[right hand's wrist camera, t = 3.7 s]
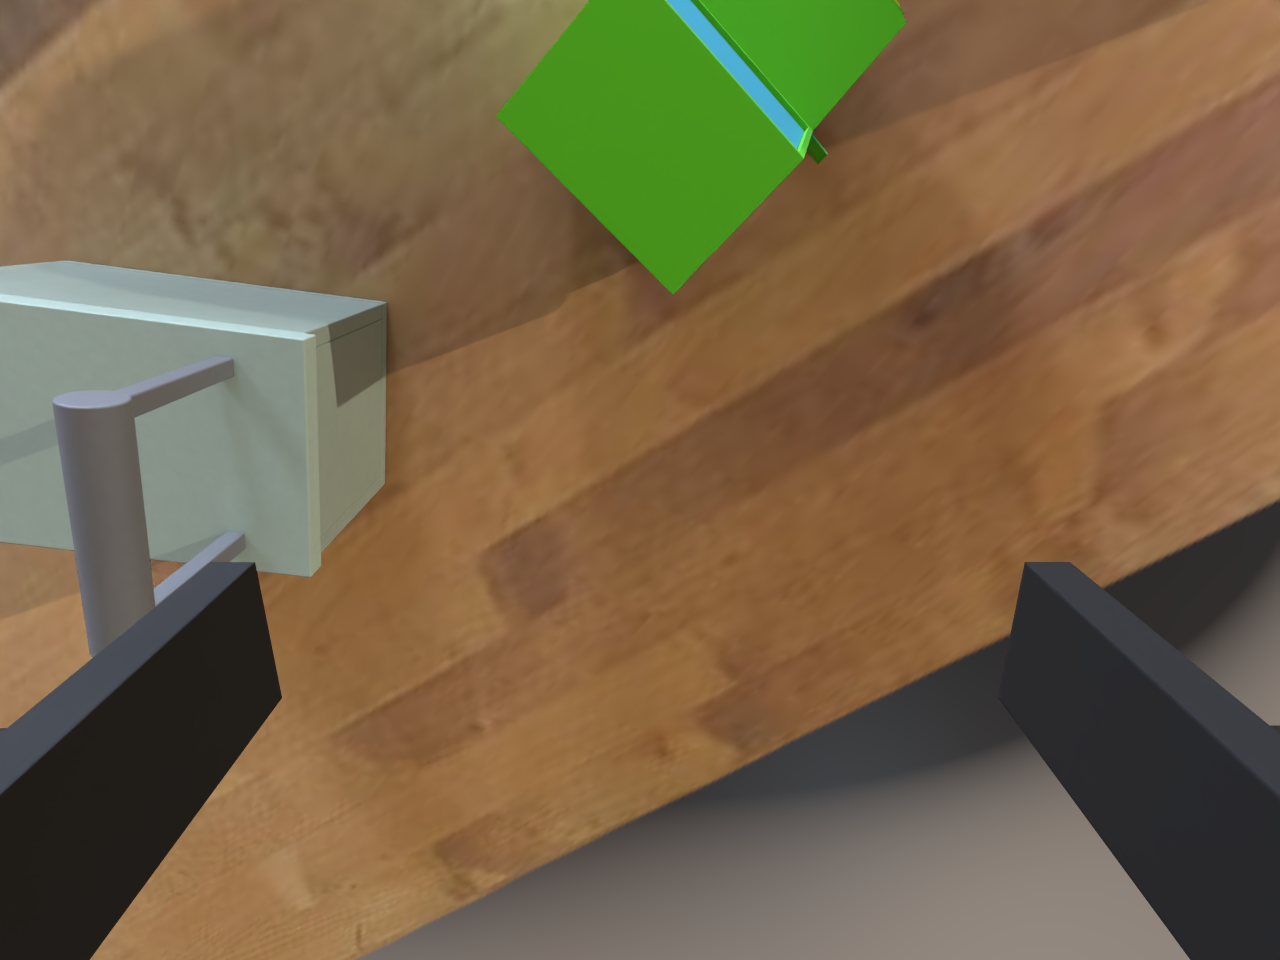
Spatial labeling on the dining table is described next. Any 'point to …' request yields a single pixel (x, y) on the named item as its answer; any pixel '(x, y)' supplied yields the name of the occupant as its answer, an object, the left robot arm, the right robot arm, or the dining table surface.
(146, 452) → the lid
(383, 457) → the chest
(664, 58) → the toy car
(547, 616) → the dining table surface
